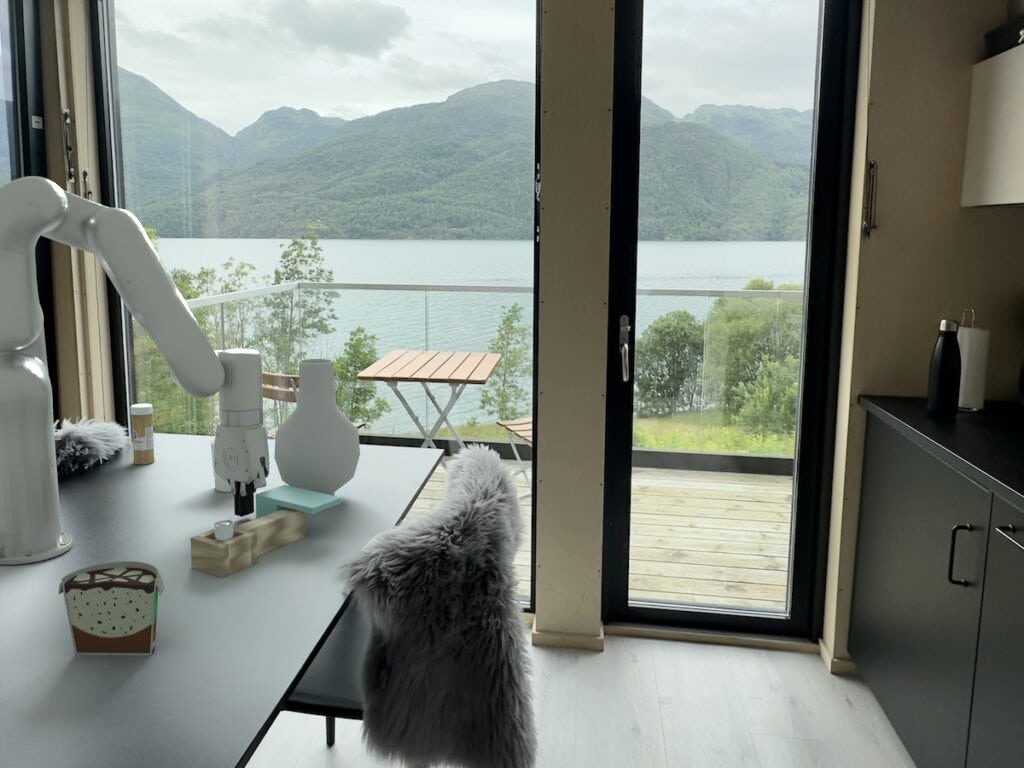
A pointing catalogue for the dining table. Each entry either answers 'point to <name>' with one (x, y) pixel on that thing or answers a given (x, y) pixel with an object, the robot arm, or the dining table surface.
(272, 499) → the keeper
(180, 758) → the dining table surface
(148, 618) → the food container
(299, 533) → the link
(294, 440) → the vase
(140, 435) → the sprinkles bottle
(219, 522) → the post
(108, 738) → the dining table surface
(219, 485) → the white cup
